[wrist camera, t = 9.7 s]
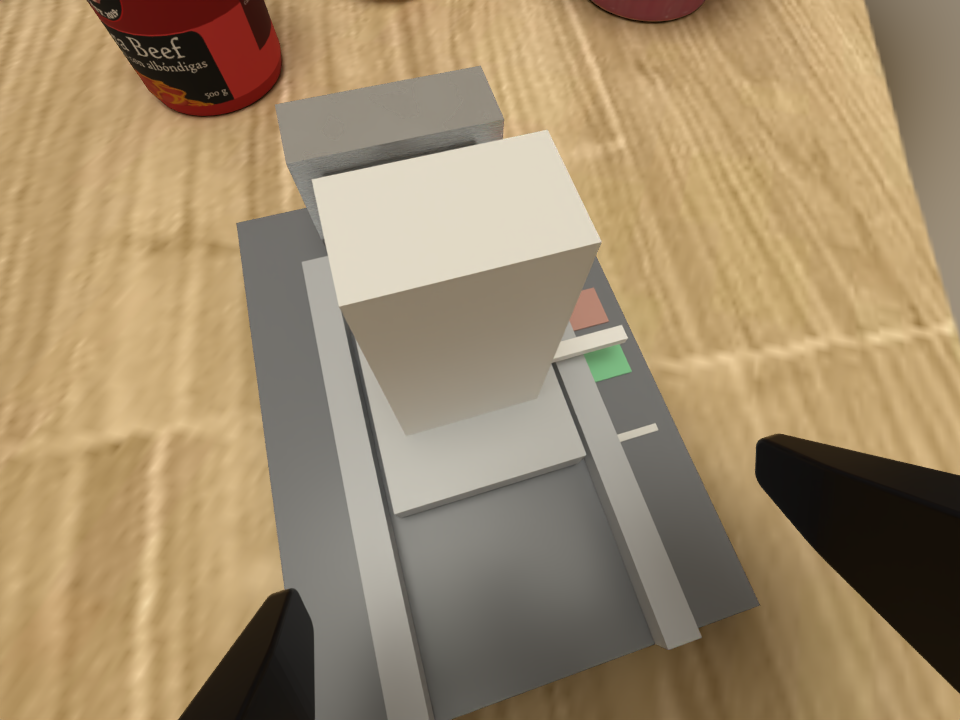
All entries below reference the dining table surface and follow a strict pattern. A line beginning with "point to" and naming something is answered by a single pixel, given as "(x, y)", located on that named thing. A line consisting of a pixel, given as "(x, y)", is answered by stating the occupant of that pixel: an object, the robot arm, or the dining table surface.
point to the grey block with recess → (385, 126)
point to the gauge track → (472, 516)
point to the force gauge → (463, 311)
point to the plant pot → (650, 8)
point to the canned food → (197, 50)
